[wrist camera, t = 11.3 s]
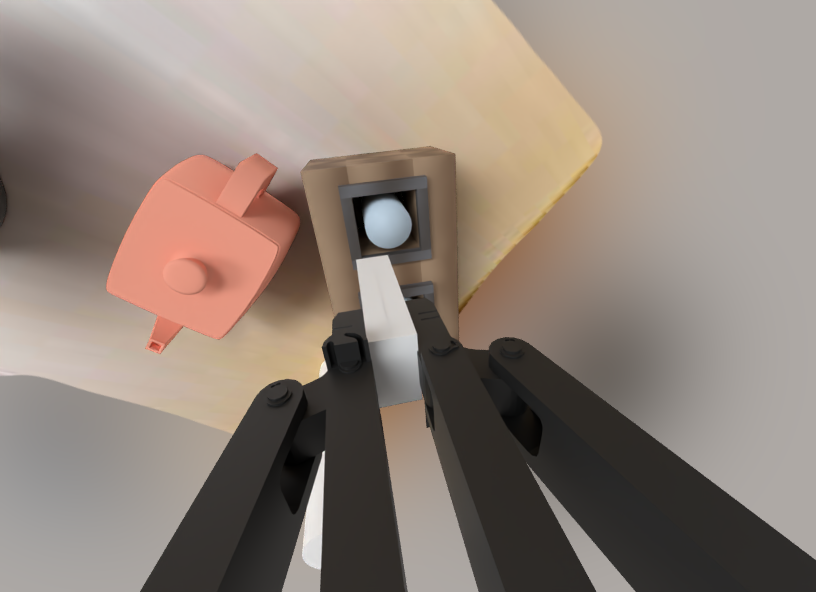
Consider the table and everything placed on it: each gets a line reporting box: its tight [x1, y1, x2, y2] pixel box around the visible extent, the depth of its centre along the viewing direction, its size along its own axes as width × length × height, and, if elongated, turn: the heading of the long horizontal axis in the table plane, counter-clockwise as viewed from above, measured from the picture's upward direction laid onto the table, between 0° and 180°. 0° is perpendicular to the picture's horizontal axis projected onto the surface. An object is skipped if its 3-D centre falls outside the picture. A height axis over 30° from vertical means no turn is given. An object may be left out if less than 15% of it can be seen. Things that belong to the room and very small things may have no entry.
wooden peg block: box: [301, 146, 459, 341], centre depth 39 cm, size 14×22×11 cm, turn 5°
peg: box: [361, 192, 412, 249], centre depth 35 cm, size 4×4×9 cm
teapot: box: [106, 153, 300, 354], centre depth 34 cm, size 22×13×14 cm, turn 141°
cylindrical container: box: [302, 361, 328, 569], centre depth 41 cm, size 7×7×25 cm
